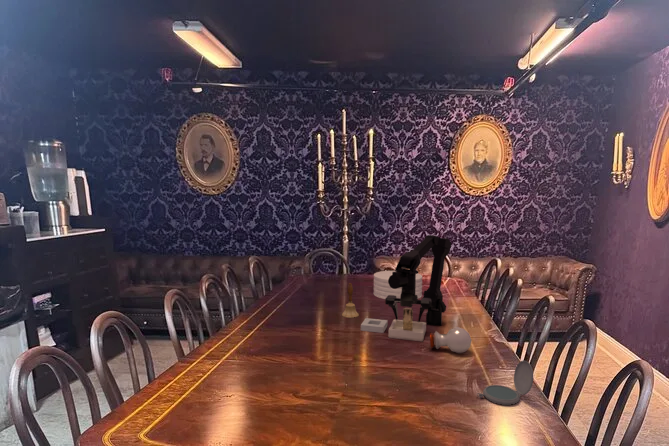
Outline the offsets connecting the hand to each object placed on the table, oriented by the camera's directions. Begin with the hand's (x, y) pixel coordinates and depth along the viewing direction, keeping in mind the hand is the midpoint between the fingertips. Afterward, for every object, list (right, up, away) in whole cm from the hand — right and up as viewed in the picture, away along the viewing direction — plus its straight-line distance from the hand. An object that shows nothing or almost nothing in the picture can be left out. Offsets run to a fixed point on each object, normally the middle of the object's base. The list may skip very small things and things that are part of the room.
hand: (407, 321), depth 176 cm
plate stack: (+6, -1, +68) cm, 68 cm away
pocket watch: (+18, -10, -53) cm, 57 cm away
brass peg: (0, -5, 0) cm, 5 cm away
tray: (0, -6, 0) cm, 6 cm away
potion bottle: (+13, -7, -18) cm, 23 cm away
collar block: (-13, -5, +8) cm, 16 cm away
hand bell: (-23, -4, +26) cm, 35 cm away
